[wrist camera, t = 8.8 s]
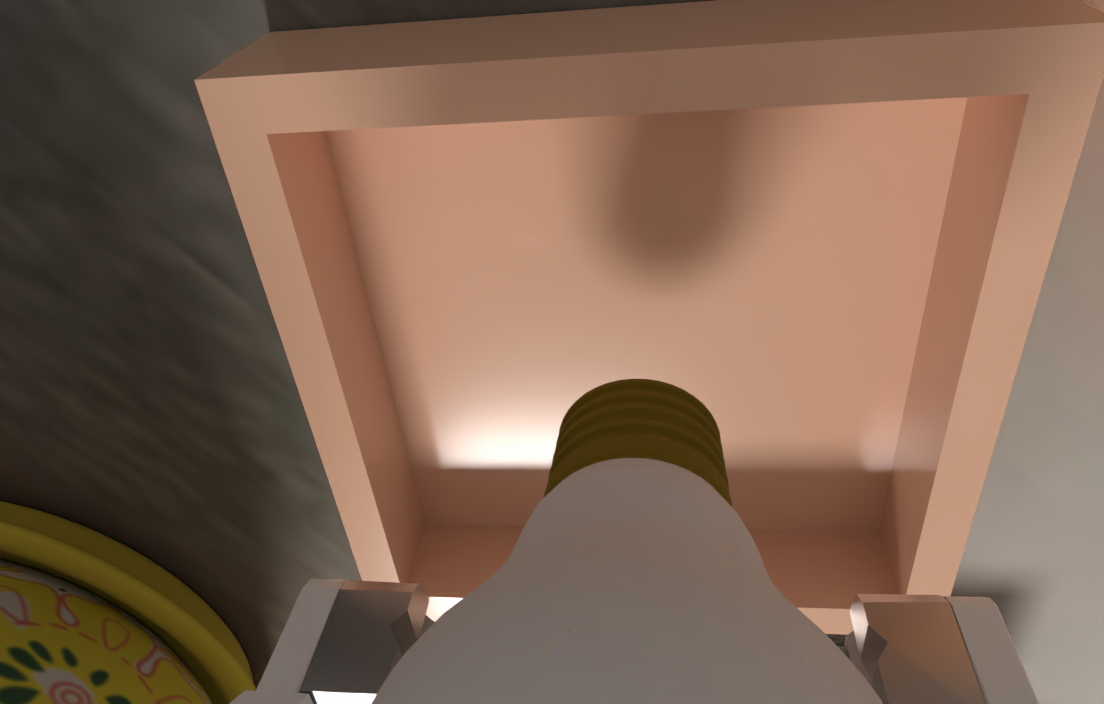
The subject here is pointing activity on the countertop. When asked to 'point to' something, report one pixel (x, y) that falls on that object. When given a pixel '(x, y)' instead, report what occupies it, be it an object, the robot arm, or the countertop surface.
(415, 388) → the tray
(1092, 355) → the countertop surface
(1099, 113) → the countertop surface
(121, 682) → the flowerpot
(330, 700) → the robot arm
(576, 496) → the light bulb
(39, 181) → the countertop surface
